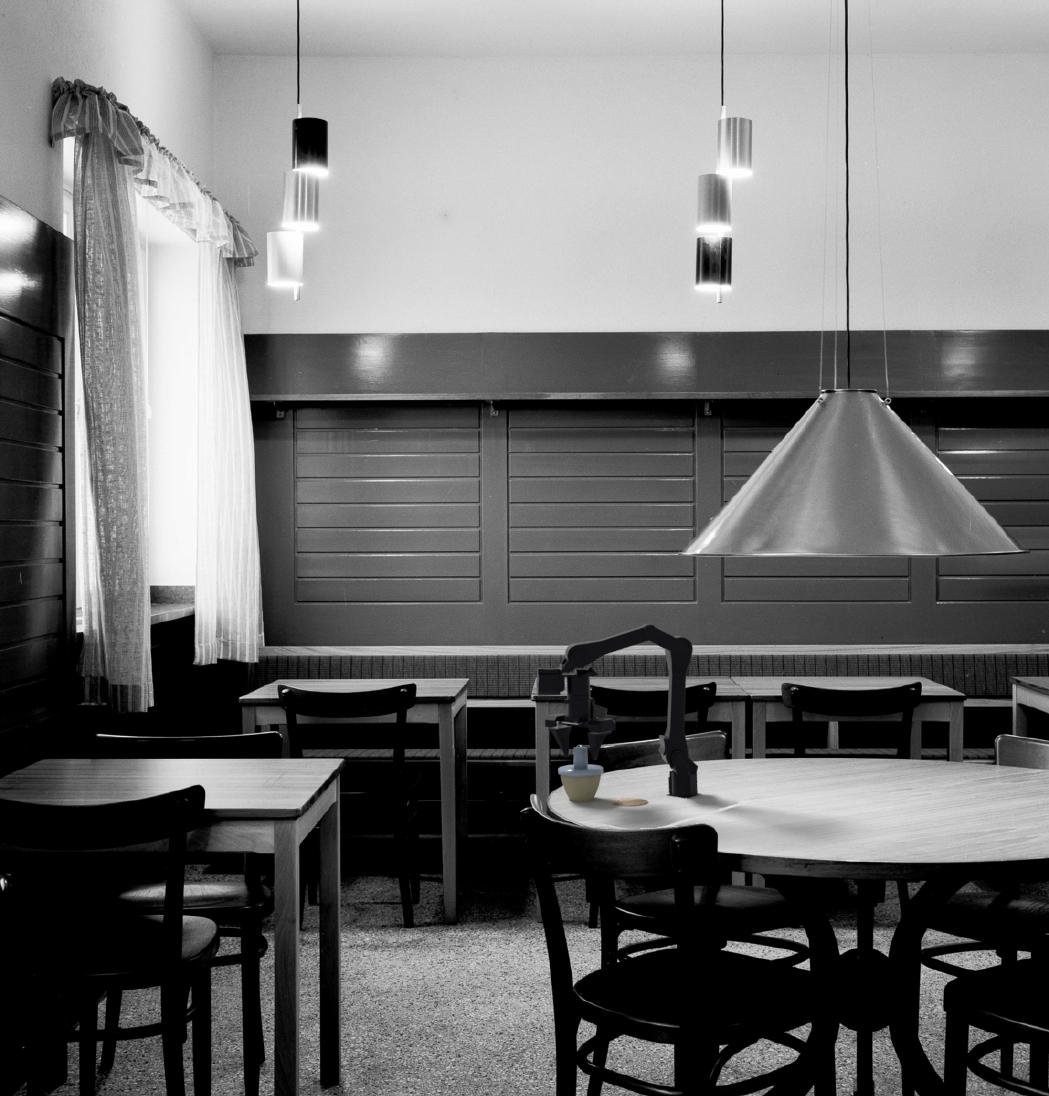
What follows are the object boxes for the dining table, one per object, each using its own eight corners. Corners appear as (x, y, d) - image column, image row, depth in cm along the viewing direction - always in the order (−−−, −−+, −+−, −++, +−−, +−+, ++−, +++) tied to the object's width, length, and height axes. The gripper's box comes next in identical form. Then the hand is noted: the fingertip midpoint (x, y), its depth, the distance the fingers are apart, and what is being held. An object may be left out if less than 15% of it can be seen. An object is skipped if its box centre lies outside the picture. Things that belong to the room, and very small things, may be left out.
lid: (612, 771, 281) (611, 747, 281) (582, 778, 273) (582, 753, 273) (578, 766, 289) (578, 742, 289) (549, 773, 281) (548, 748, 281)
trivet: (656, 803, 276) (656, 801, 276) (632, 810, 269) (632, 807, 269) (627, 799, 282) (627, 796, 282) (603, 805, 275) (603, 802, 275)
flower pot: (587, 807, 274) (586, 777, 274) (553, 802, 280) (552, 773, 280) (609, 799, 282) (608, 770, 282) (576, 795, 288) (575, 767, 288)
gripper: (628, 693, 280) (630, 757, 280) (572, 688, 293) (573, 749, 293) (599, 698, 272) (601, 763, 272) (542, 693, 285) (544, 756, 285)
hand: (580, 758), depth 281 cm, fingers open, 9 cm apart
